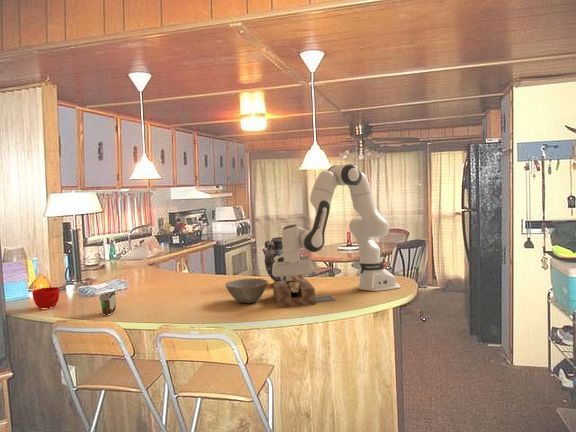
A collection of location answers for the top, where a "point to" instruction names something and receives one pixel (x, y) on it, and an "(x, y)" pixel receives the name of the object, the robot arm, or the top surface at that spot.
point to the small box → (293, 277)
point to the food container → (108, 302)
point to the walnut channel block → (297, 299)
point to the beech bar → (293, 286)
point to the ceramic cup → (46, 297)
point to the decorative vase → (273, 255)
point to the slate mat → (324, 298)
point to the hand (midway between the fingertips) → (293, 284)
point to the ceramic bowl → (246, 289)
